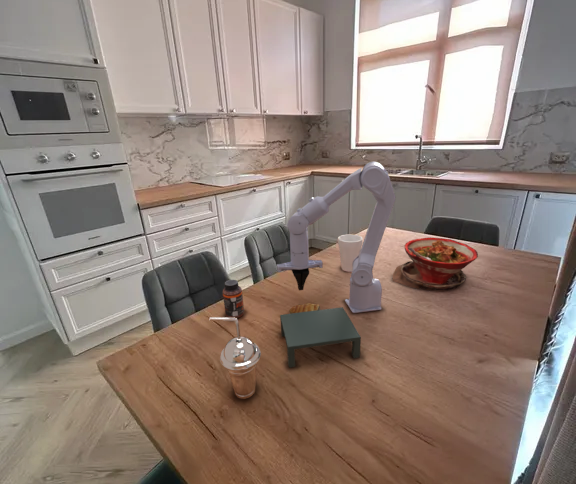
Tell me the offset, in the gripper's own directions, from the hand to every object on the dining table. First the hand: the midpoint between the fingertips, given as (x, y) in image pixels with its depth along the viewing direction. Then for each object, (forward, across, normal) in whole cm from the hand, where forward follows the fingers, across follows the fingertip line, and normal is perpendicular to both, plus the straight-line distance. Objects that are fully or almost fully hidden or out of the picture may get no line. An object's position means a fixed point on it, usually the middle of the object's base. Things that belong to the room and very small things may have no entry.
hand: (300, 288), depth 103 cm
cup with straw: (+5, +20, +36) cm, 41 cm away
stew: (+5, -50, -4) cm, 50 cm away
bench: (+4, 0, +24) cm, 24 cm away
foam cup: (+5, -24, -20) cm, 32 cm away
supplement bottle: (+5, +22, +4) cm, 23 cm away
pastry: (+5, 0, +10) cm, 11 cm away
